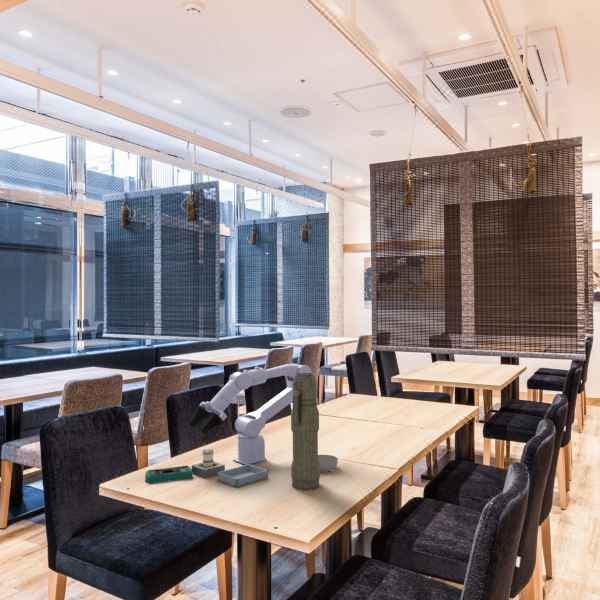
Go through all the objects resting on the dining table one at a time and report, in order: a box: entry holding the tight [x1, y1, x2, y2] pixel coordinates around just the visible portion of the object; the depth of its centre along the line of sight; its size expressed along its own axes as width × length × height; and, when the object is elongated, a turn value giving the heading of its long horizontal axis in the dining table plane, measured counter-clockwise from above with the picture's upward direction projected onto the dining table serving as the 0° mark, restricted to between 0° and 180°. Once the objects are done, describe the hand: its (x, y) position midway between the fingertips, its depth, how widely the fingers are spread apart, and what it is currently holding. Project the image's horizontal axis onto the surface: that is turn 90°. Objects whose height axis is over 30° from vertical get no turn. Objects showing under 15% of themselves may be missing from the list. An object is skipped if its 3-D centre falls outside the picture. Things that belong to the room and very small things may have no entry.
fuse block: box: [191, 460, 226, 479], centre depth 185 cm, size 8×8×3 cm
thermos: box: [290, 372, 321, 491], centre depth 171 cm, size 9×12×35 cm
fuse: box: [202, 448, 214, 468], centre depth 185 cm, size 4×4×8 cm
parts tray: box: [216, 464, 269, 489], centre depth 177 cm, size 13×10×2 cm
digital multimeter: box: [144, 465, 193, 484], centre depth 180 cm, size 7×15×3 cm, turn 110°
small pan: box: [318, 454, 339, 473], centre depth 190 cm, size 11×18×4 cm, turn 48°
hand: (196, 428), depth 187 cm, fingers open, 7 cm apart
